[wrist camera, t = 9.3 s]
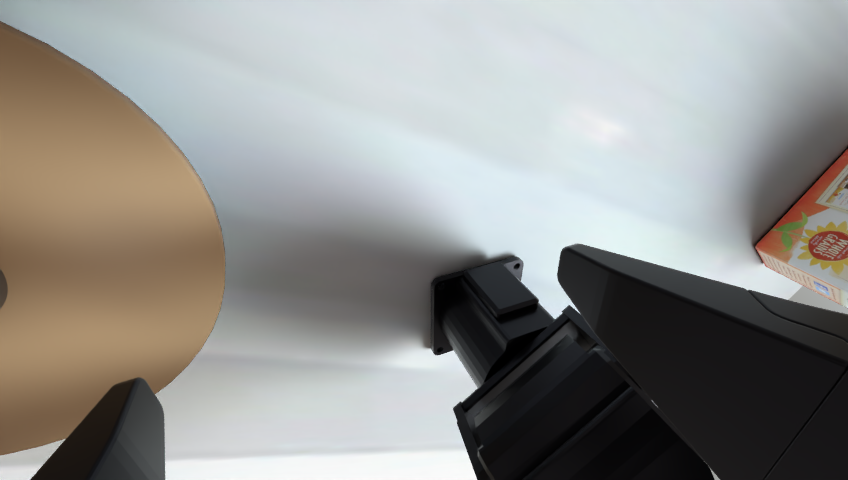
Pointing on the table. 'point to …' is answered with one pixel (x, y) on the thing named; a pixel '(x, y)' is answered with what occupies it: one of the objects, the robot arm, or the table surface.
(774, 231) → the cracker box
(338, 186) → the table surface
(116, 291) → the lid
